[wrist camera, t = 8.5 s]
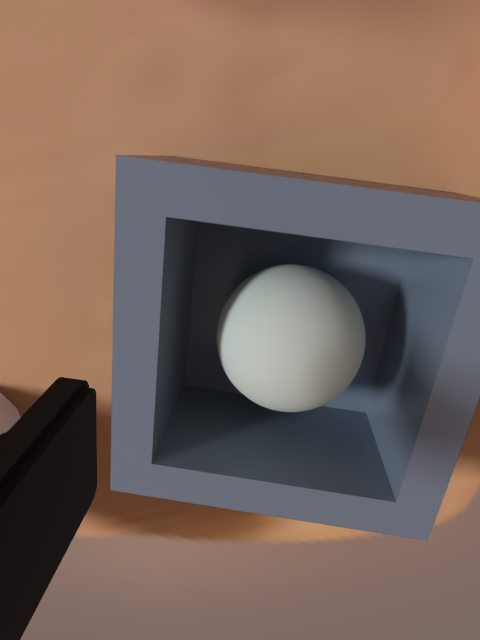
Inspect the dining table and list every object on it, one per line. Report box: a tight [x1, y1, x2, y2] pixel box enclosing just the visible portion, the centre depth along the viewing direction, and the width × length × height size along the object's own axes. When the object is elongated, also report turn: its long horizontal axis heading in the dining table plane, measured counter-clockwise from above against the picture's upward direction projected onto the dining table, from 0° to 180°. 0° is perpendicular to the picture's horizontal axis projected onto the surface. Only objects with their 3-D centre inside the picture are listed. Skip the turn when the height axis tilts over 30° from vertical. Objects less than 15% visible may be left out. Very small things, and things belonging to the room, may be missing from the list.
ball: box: [217, 264, 366, 412], centre depth 18 cm, size 6×6×6 cm
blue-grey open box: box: [110, 155, 480, 541], centre depth 18 cm, size 13×13×7 cm
